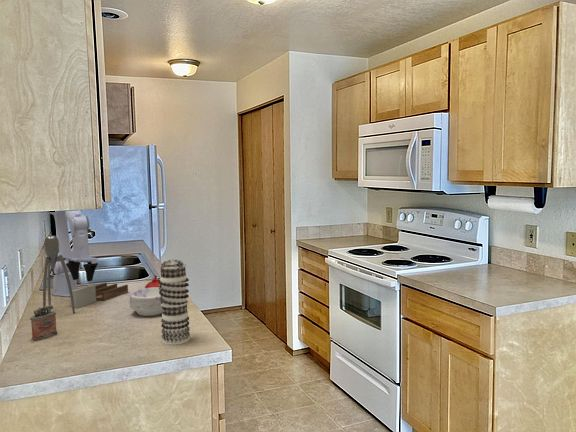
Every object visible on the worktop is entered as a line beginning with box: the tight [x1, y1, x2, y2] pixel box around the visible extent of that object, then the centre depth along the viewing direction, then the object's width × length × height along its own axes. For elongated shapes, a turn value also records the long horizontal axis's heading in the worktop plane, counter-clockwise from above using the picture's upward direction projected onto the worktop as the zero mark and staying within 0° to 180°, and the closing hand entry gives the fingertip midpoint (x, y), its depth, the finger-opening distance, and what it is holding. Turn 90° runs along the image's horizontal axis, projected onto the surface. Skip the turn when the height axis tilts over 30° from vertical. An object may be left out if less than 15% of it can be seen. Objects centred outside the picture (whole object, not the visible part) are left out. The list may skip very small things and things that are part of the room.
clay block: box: [72, 284, 97, 309], centre depth 191 cm, size 2×10×7 cm, turn 156°
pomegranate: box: [144, 274, 162, 288], centre depth 201 cm, size 10×10×9 cm
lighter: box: [30, 304, 58, 342], centre depth 154 cm, size 8×3×10 cm, turn 148°
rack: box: [94, 282, 129, 302], centre depth 205 cm, size 13×14×4 cm
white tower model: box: [158, 259, 191, 346], centre depth 148 cm, size 9×9×25 cm
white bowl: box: [129, 287, 163, 317], centre depth 179 cm, size 15×15×8 cm
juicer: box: [42, 235, 76, 315], centre depth 177 cm, size 10×11×30 cm
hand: (82, 280), depth 190 cm, fingers open, 7 cm apart
